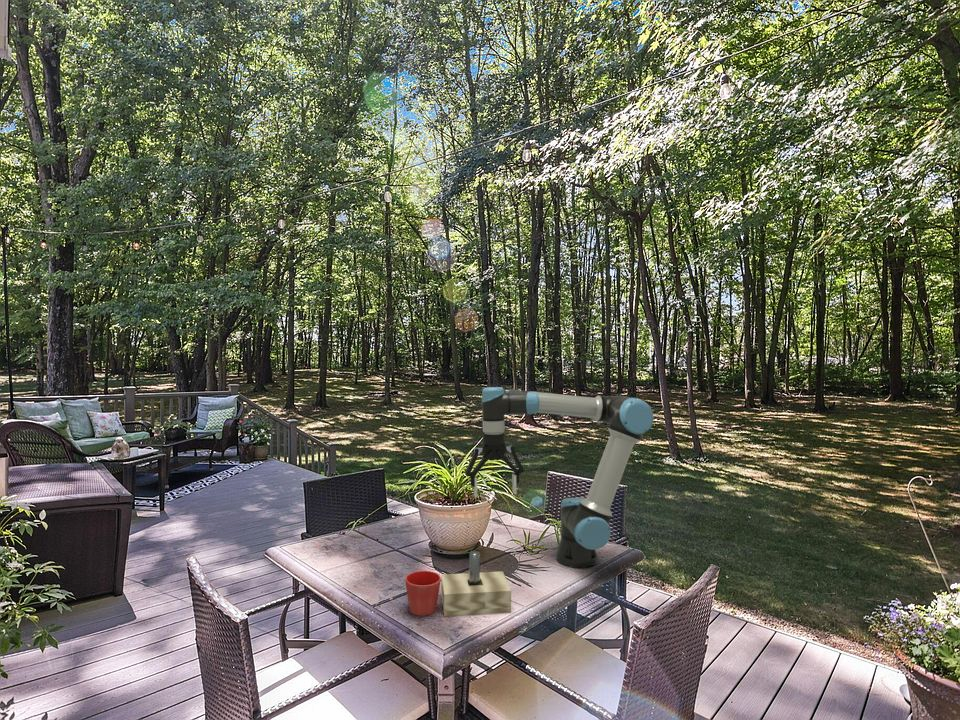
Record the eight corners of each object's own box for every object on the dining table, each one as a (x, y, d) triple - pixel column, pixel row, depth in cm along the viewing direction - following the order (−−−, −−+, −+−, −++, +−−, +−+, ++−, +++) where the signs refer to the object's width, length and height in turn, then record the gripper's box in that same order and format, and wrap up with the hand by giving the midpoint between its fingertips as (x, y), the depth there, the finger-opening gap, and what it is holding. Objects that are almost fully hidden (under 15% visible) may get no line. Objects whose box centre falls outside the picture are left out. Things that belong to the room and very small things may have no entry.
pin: (478, 595, 164) (479, 550, 164) (480, 600, 161) (480, 554, 161) (468, 596, 164) (468, 551, 164) (469, 600, 160) (470, 555, 160)
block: (502, 591, 171) (502, 571, 171) (511, 612, 157) (511, 590, 157) (441, 594, 168) (441, 574, 168) (444, 616, 154) (444, 594, 154)
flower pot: (441, 600, 164) (441, 569, 164) (439, 618, 153) (440, 585, 153) (407, 601, 164) (407, 570, 163) (403, 619, 153) (403, 585, 152)
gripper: (526, 429, 185) (527, 489, 185) (455, 432, 180) (457, 494, 181) (532, 432, 178) (533, 494, 178) (459, 436, 173) (460, 500, 173)
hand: (495, 494), depth 179 cm, fingers open, 13 cm apart
